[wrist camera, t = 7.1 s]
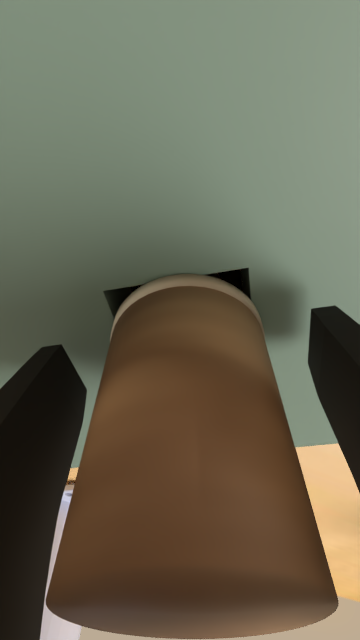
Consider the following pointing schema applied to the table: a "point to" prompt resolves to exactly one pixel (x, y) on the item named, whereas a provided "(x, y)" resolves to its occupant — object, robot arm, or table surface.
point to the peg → (190, 480)
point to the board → (178, 171)
